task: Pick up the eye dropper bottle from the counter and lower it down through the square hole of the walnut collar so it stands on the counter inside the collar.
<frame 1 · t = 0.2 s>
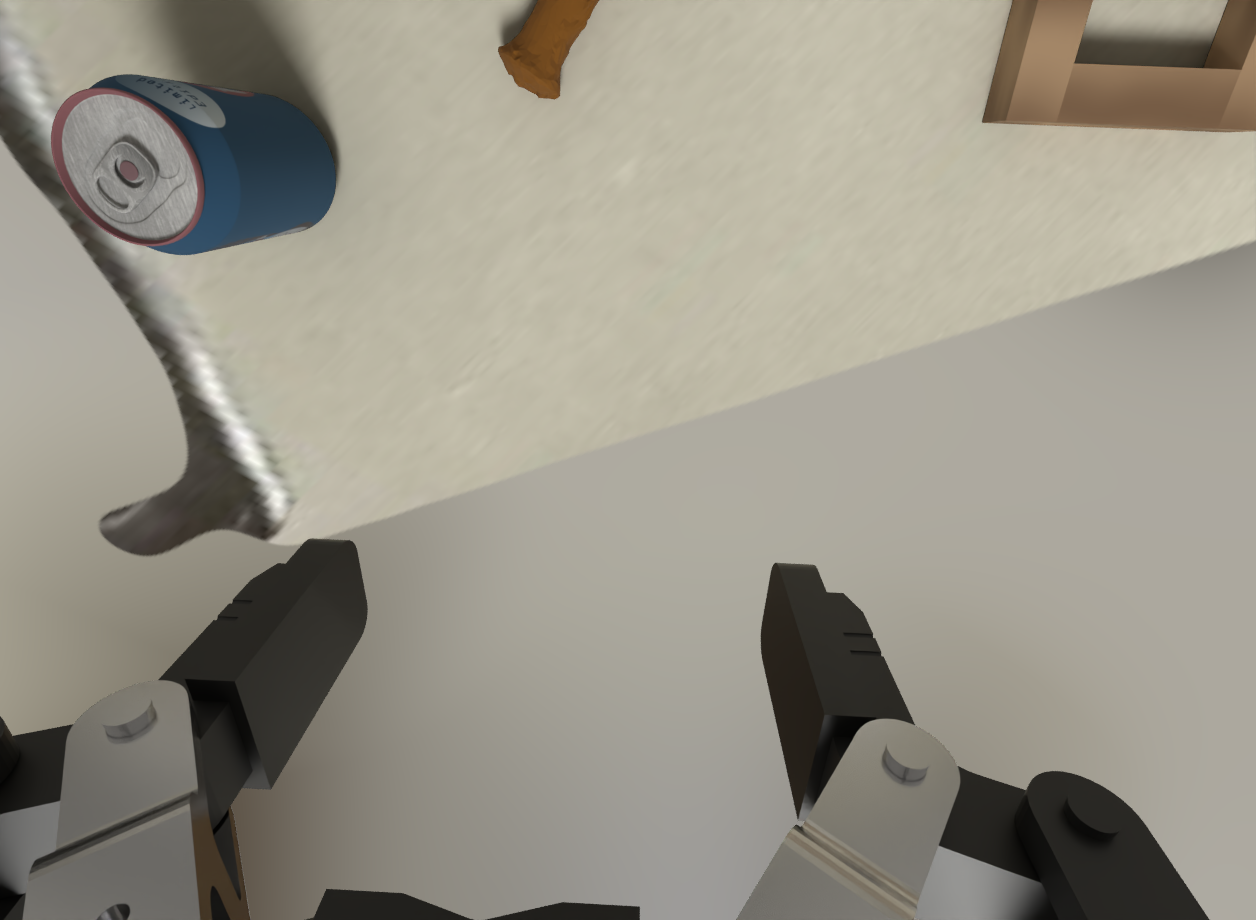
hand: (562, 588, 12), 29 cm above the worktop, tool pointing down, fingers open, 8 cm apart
soda can: (286, 165, 36), on the worktop
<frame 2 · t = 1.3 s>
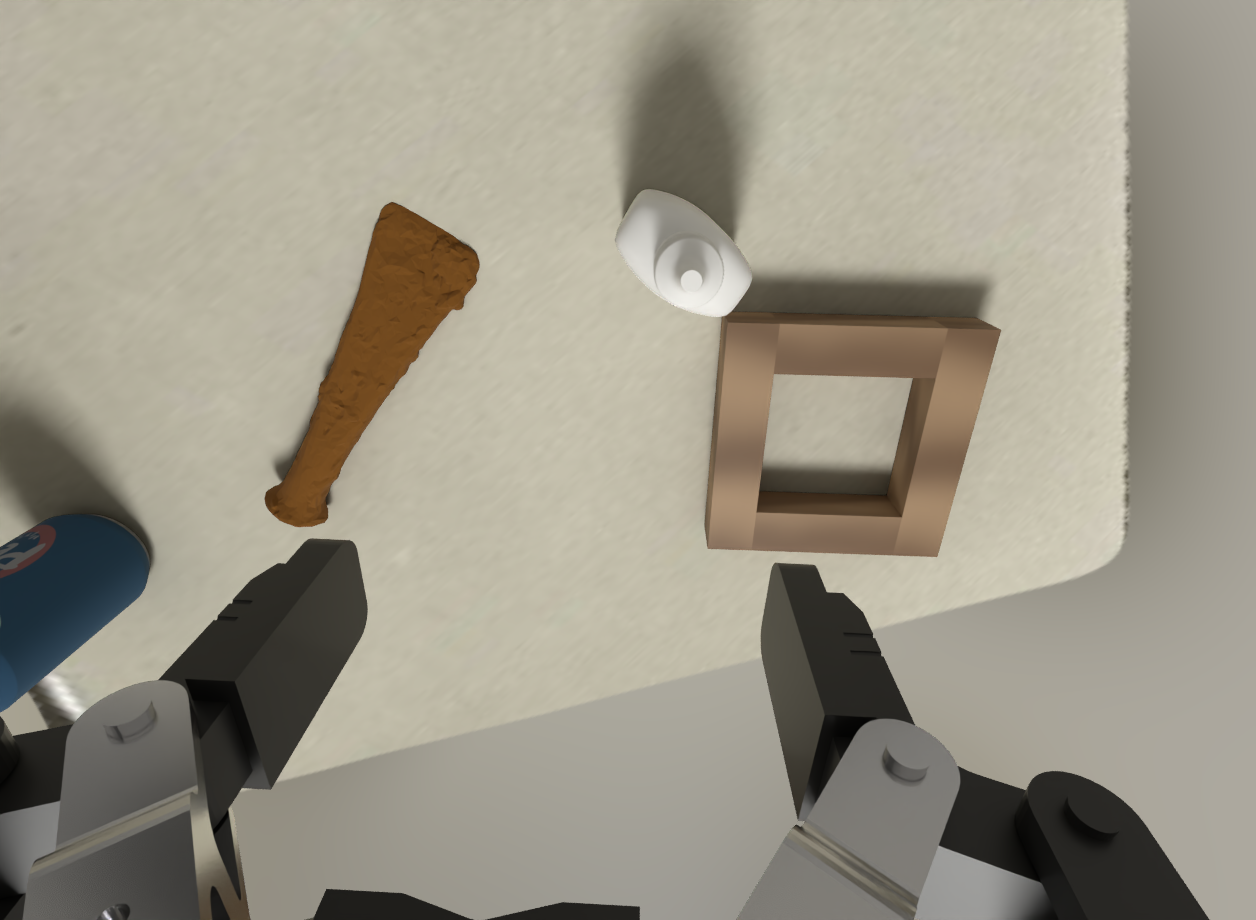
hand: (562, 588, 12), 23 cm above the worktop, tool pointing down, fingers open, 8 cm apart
eye dropper bottle: (677, 238, 31), on the worktop
walnut collar: (828, 430, 35), on the worktop
primitive tool: (366, 368, 35), on the worktop
soda can: (108, 549, 41), on the worktop
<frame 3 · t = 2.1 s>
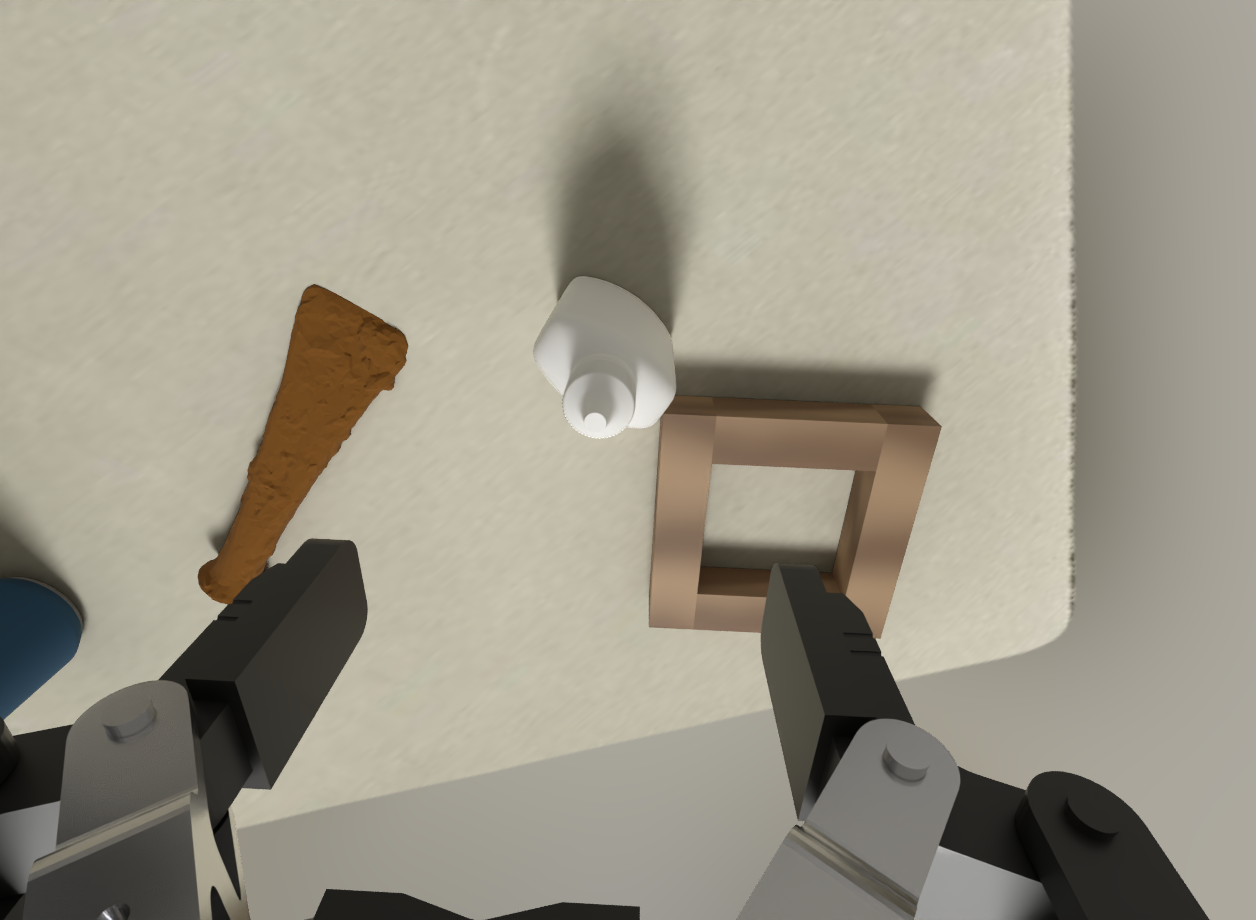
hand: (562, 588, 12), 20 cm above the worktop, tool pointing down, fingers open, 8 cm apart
eye dropper bottle: (614, 322, 30), on the worktop
walnut collar: (772, 510, 34), on the worktop
primitive tool: (298, 443, 34), on the worktop
soda can: (39, 610, 39), on the worktop
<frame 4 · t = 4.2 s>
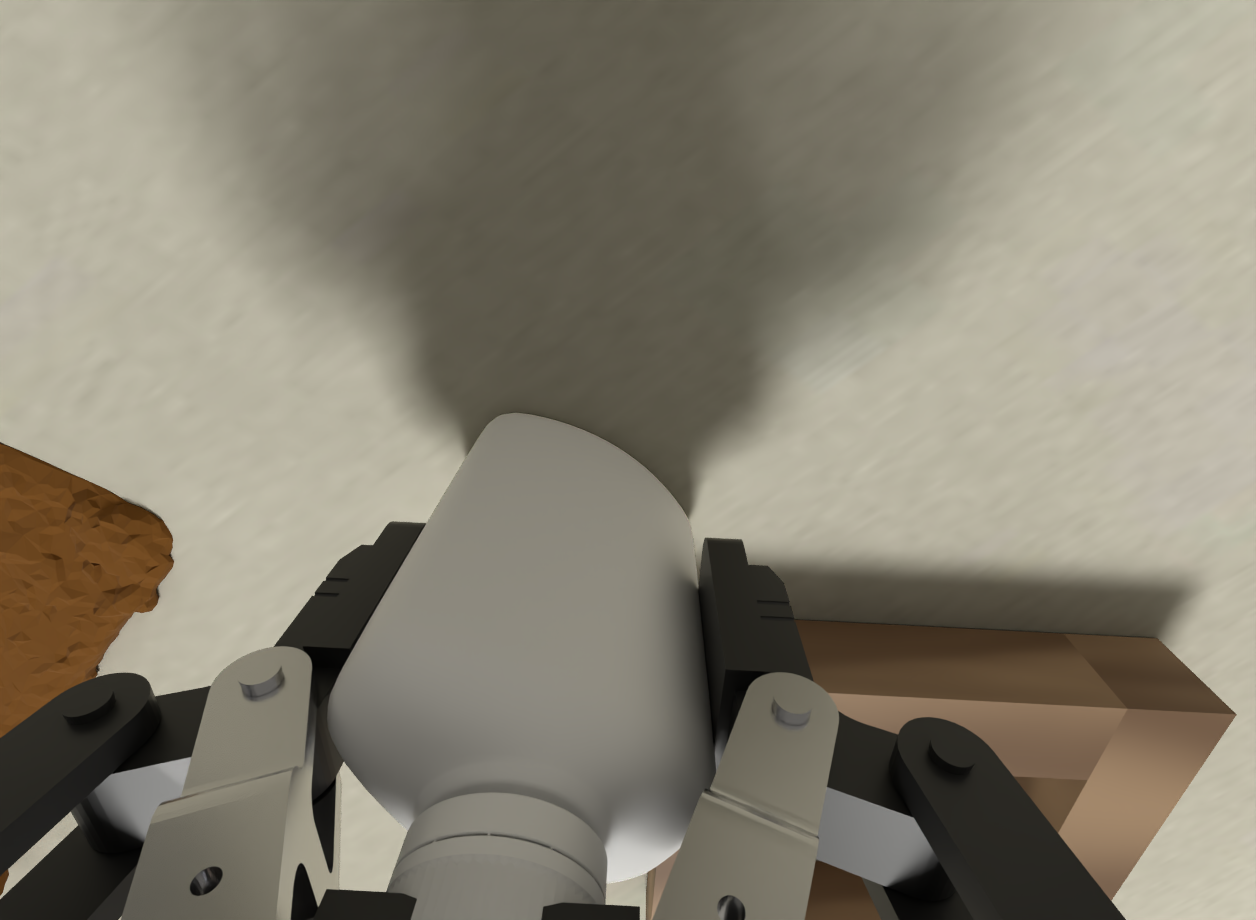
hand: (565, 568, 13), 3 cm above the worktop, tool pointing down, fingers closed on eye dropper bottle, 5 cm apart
eye dropper bottle: (580, 491, 15), on the worktop, touching gripper
walnut collar: (862, 785, 20), on the worktop
primitive tool: (23, 675, 20), on the worktop
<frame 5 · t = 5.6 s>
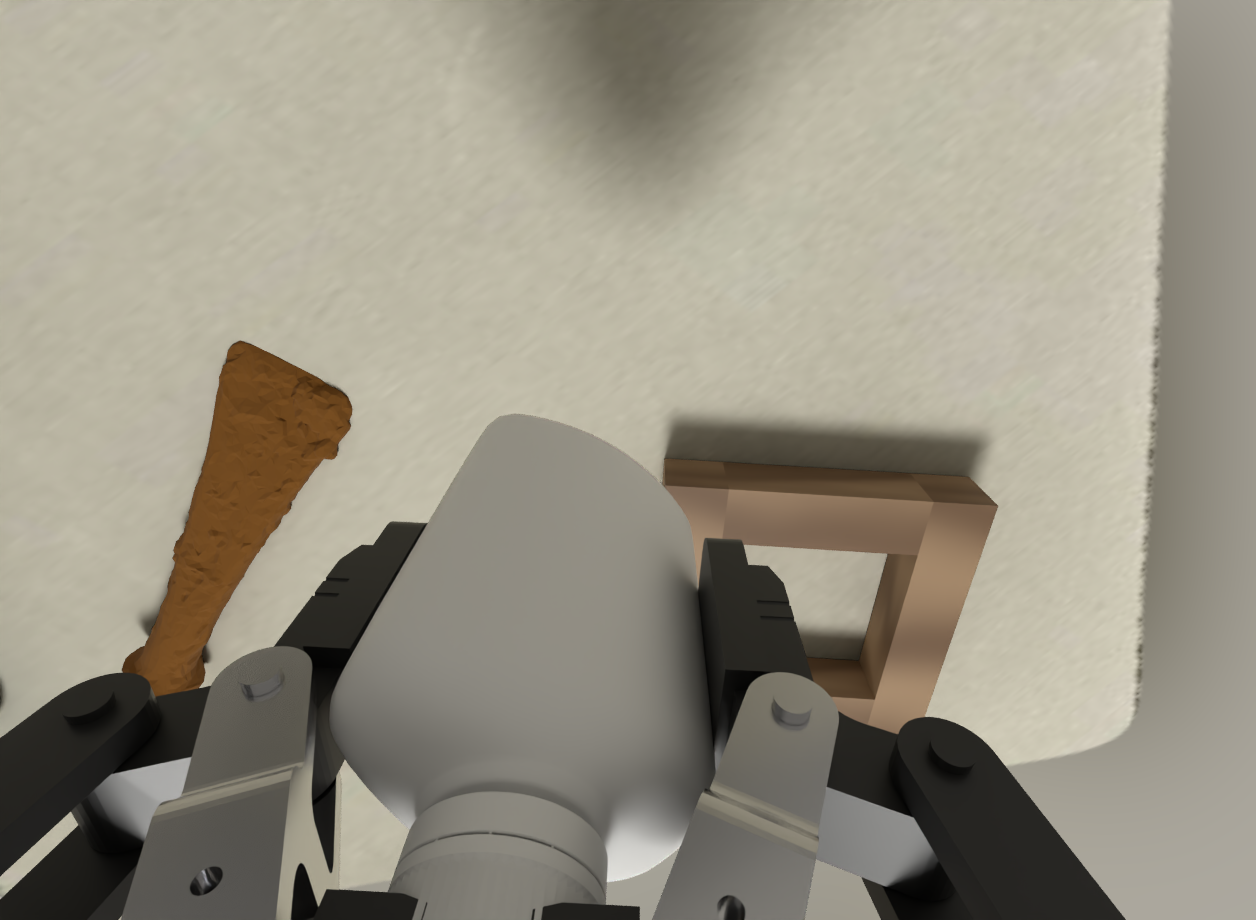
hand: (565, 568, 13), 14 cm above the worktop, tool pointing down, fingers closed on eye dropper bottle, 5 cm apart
eye dropper bottle: (581, 492, 15), point 11 cm above the worktop, touching gripper
walnut collar: (791, 590, 29), on the worktop
primitive tool: (235, 517, 30), on the worktop
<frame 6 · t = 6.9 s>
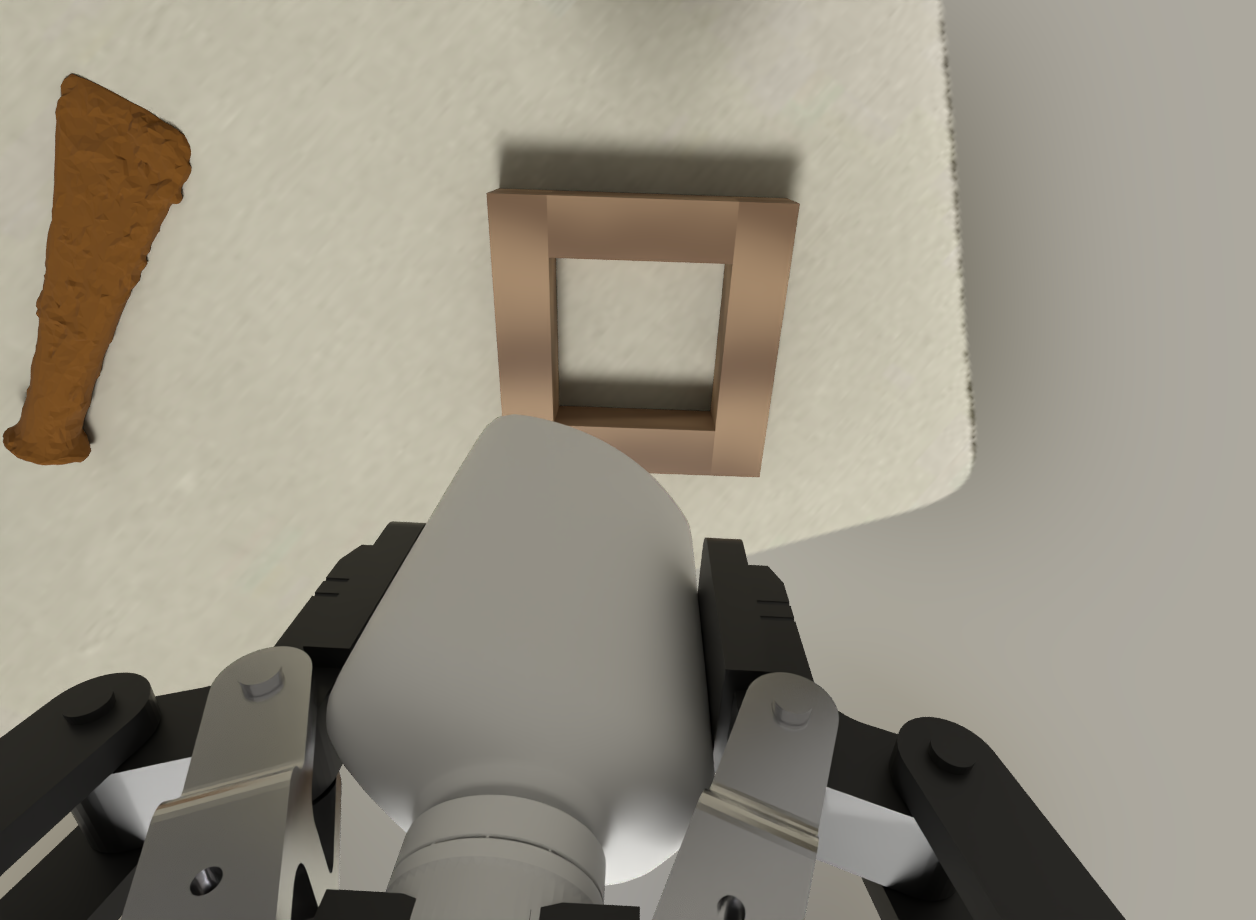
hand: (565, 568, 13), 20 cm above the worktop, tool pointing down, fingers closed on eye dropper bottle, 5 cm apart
eye dropper bottle: (579, 492, 15), point 17 cm above the worktop, touching gripper
walnut collar: (637, 334, 31), on the worktop
primitive tool: (99, 282, 31), on the worktop
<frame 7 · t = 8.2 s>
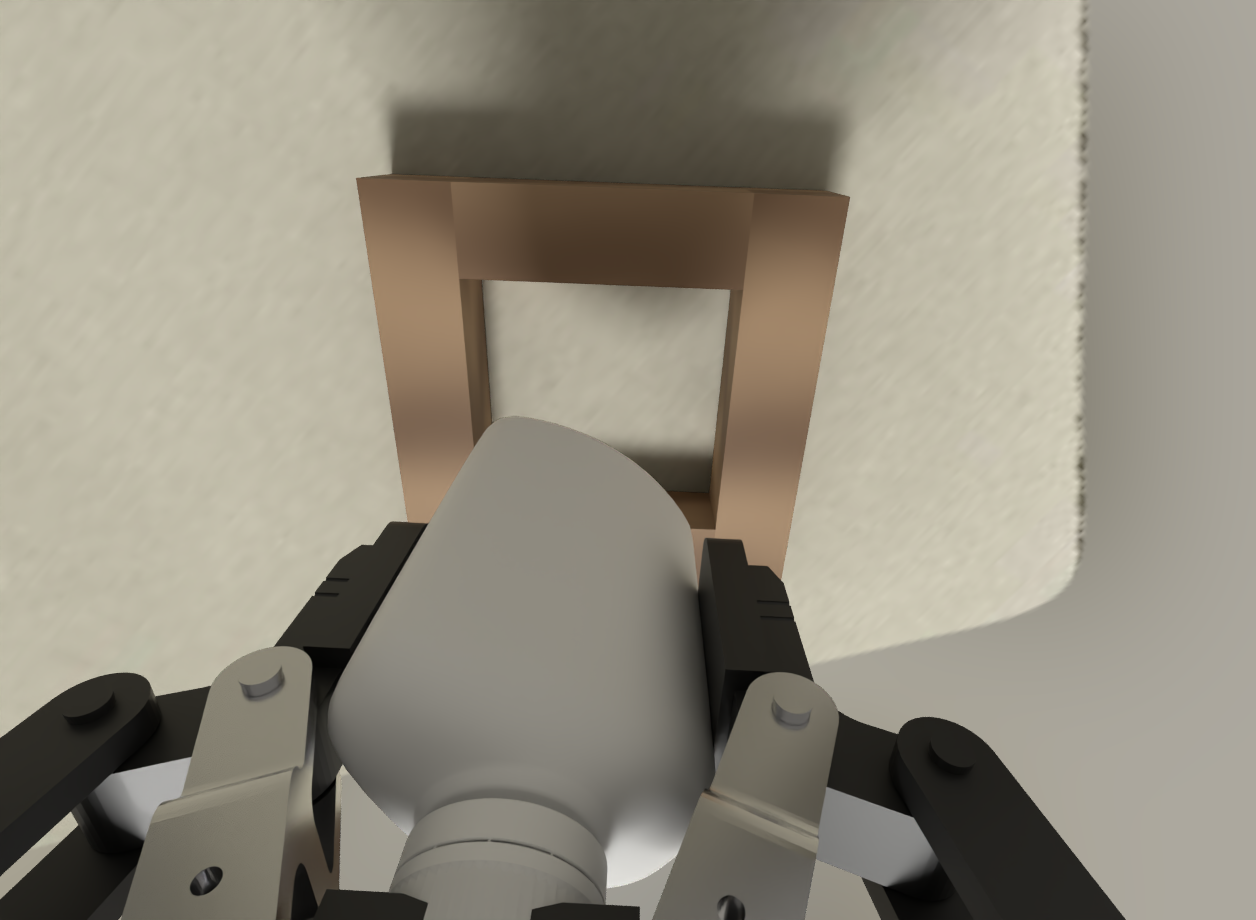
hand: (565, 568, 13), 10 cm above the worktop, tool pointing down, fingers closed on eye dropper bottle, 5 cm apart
eye dropper bottle: (580, 494, 15), point 7 cm above the worktop, touching gripper
walnut collar: (604, 387, 22), on the worktop
when the fingers open (4 cm above the worktop, at t = 9.6 s): eye dropper bottle drops 1 cm, resting in walnut collar.
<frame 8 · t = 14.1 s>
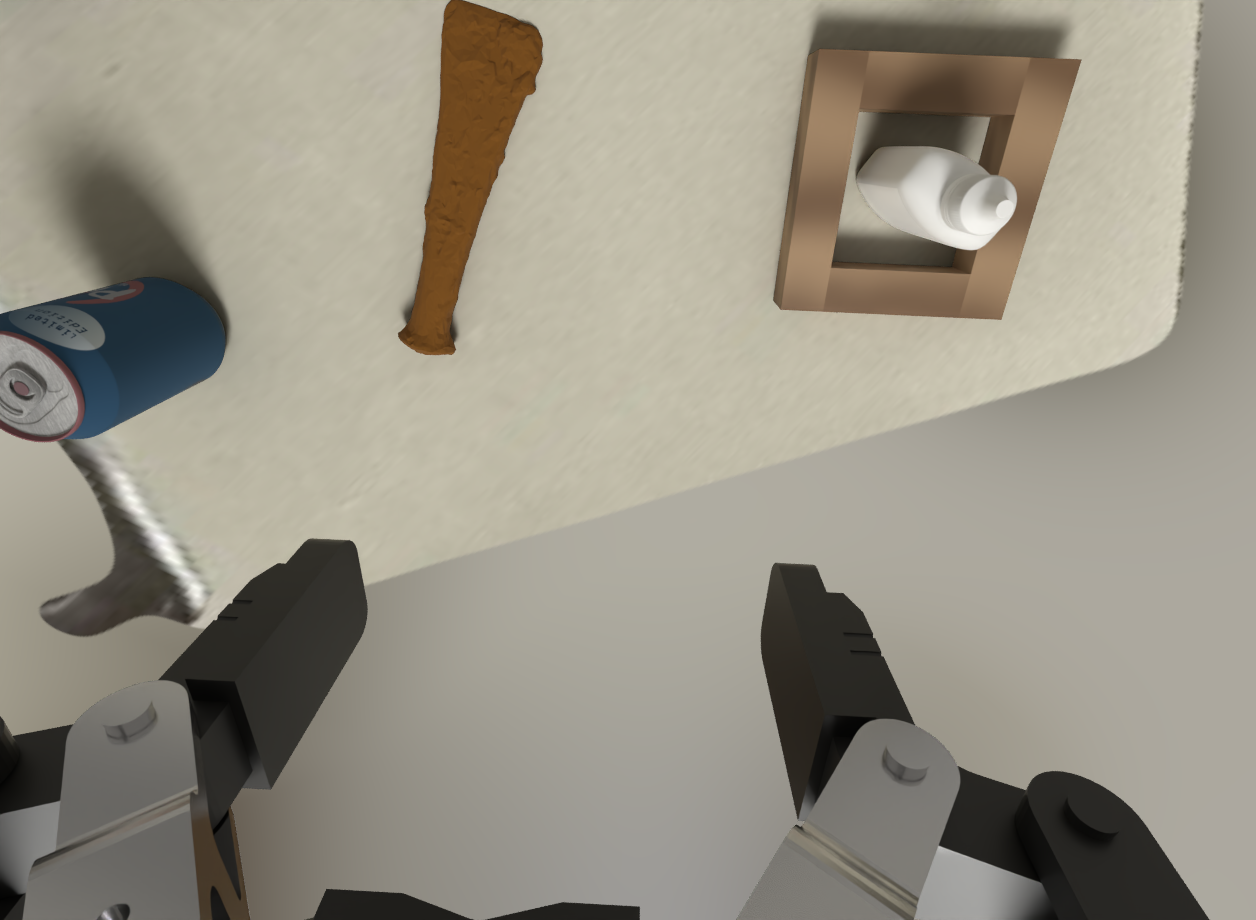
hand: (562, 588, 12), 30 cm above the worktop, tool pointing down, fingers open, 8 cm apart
eye dropper bottle: (898, 191, 36), resting in walnut collar
walnut collar: (901, 192, 36), on the worktop
primitive tool: (459, 189, 37), on the worktop
soda can: (184, 326, 41), on the worktop
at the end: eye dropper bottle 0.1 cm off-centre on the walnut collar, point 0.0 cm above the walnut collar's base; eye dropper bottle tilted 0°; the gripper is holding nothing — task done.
